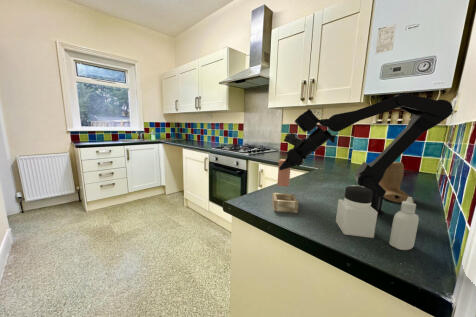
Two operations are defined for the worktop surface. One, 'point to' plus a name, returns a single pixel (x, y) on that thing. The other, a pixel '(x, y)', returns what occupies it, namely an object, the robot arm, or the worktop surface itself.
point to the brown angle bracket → (394, 183)
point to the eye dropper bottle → (404, 226)
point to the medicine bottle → (357, 212)
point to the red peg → (283, 175)
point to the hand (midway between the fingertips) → (281, 168)
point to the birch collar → (284, 202)
